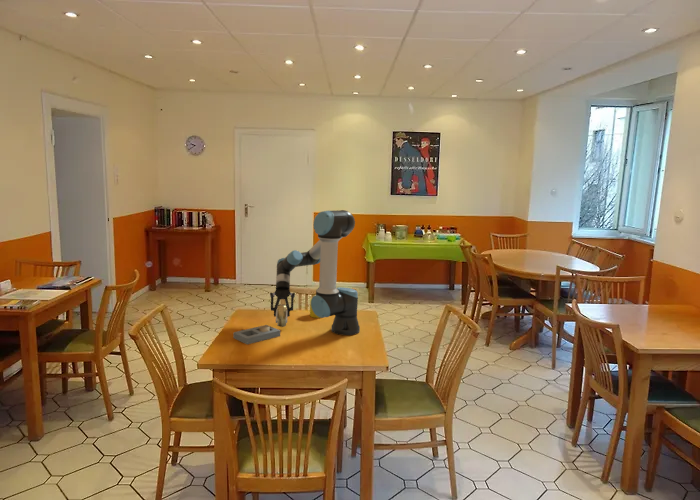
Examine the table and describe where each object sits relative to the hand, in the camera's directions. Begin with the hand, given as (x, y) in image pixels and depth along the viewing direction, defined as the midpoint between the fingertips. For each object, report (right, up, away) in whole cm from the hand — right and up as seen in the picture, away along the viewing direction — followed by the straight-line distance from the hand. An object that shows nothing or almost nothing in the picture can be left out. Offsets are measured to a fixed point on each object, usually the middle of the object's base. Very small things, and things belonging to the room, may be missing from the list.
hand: (281, 321), depth 265 cm
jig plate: (-11, -7, -9) cm, 16 cm away
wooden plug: (-8, -6, -6) cm, 12 cm away
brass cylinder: (0, -3, +4) cm, 5 cm away
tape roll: (+17, -1, +33) cm, 37 cm away
